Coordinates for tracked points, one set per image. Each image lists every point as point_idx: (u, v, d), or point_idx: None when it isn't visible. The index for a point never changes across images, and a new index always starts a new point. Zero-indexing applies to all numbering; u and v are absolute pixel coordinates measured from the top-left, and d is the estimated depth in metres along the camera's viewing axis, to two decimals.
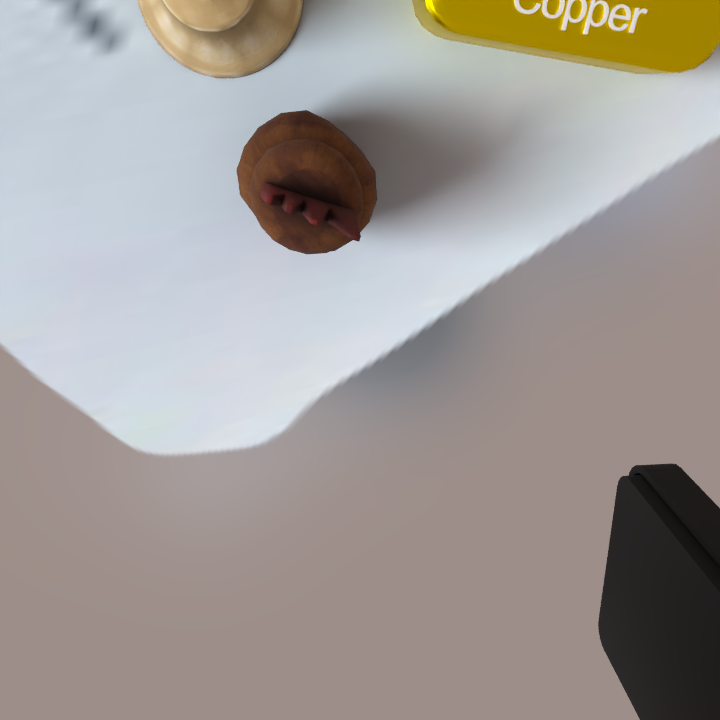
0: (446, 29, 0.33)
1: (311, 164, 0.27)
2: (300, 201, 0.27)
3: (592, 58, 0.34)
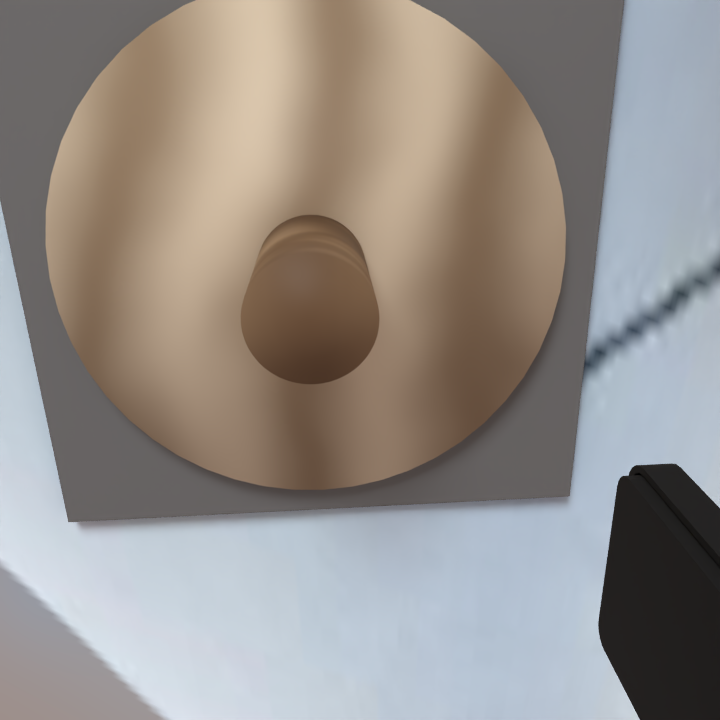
0: None
1: None
2: None
3: None
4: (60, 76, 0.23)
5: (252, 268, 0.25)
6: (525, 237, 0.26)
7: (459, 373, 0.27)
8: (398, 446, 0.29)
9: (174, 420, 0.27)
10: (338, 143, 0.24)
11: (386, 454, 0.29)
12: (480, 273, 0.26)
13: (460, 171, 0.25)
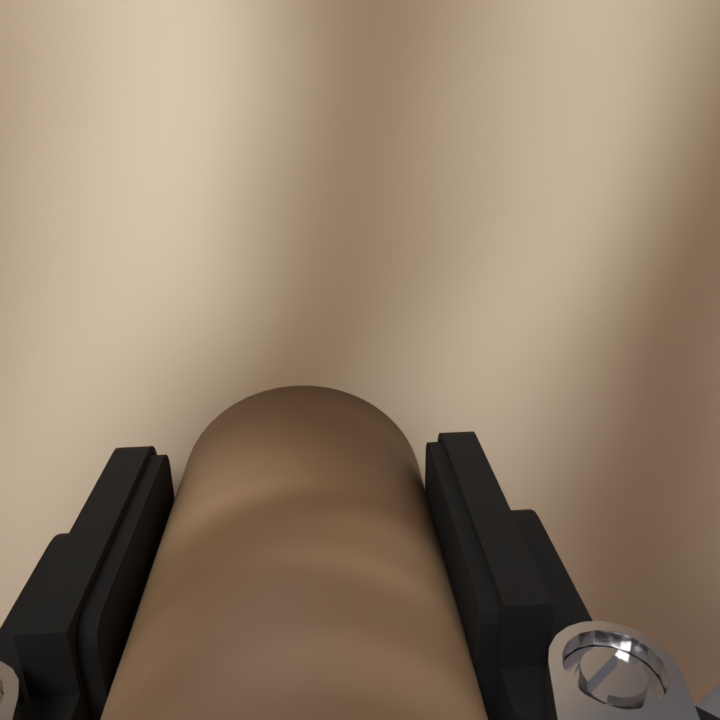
0: None
1: None
2: None
3: None
4: None
5: None
6: None
7: None
8: None
9: None
10: (364, 231, 0.10)
11: None
12: (664, 493, 0.12)
13: (642, 289, 0.11)
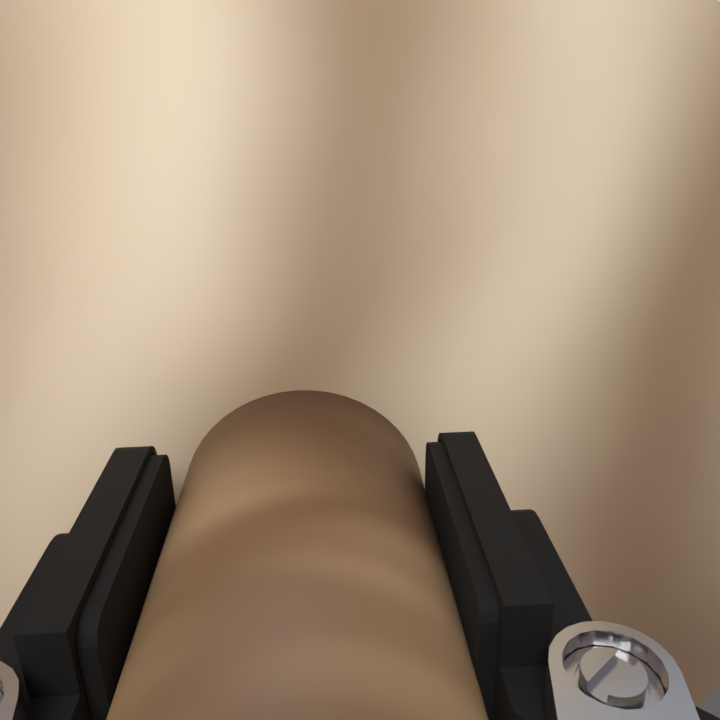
0: None
1: None
2: None
3: None
4: None
5: (175, 499, 0.12)
6: None
7: None
8: None
9: None
10: (366, 236, 0.10)
11: None
12: (664, 497, 0.12)
13: (643, 294, 0.11)
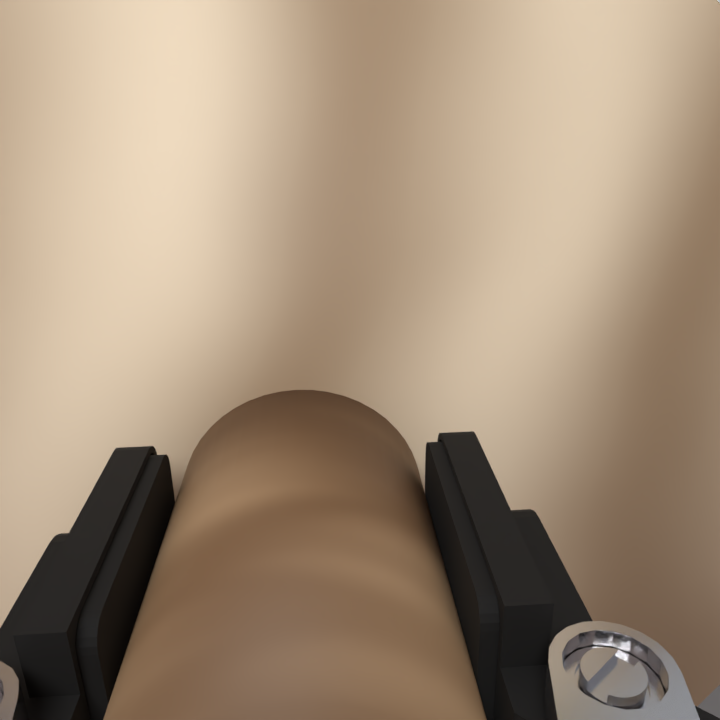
0: None
1: None
2: None
3: None
4: None
5: None
6: None
7: None
8: None
9: None
10: (364, 235, 0.10)
11: None
12: (663, 497, 0.12)
13: (641, 294, 0.11)
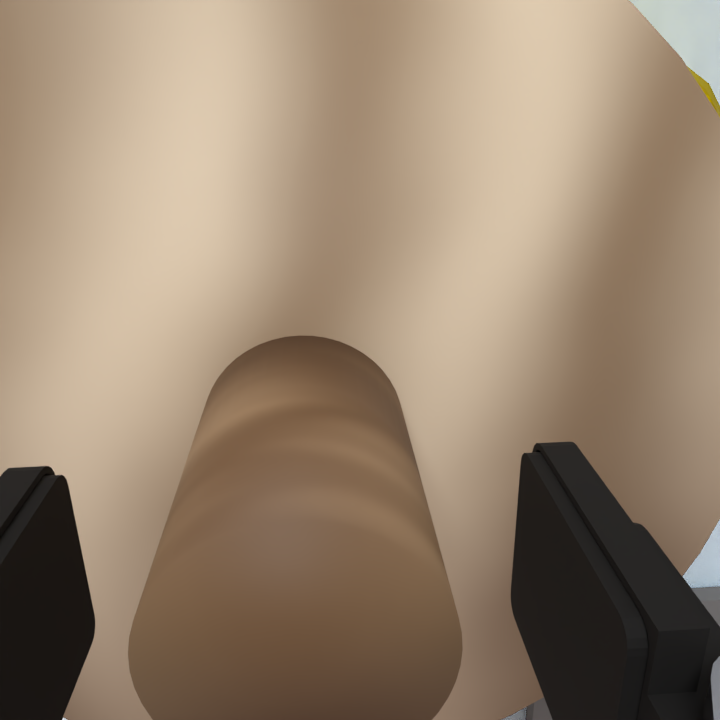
0: None
1: None
2: None
3: None
4: None
5: (194, 429, 0.14)
6: (695, 370, 0.14)
7: None
8: (451, 700, 0.17)
9: None
10: (355, 205, 0.12)
11: None
12: (609, 432, 0.14)
13: (586, 256, 0.13)
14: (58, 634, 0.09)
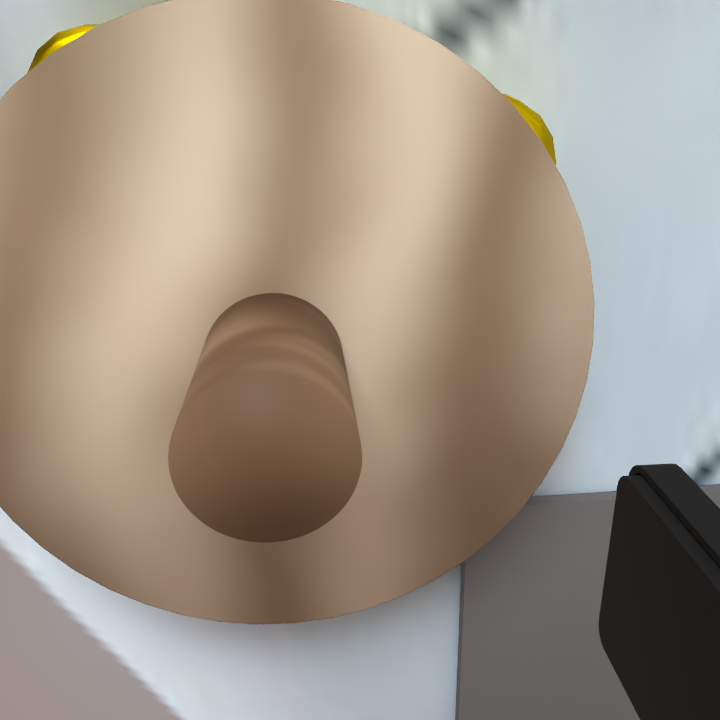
0: None
1: None
2: None
3: None
4: (529, 590, 0.29)
5: (197, 360, 0.20)
6: (544, 316, 0.20)
7: (462, 481, 0.22)
8: (387, 569, 0.23)
9: (103, 547, 0.22)
10: (305, 203, 0.18)
11: (372, 578, 0.23)
12: (487, 360, 0.21)
13: (462, 236, 0.19)
14: None
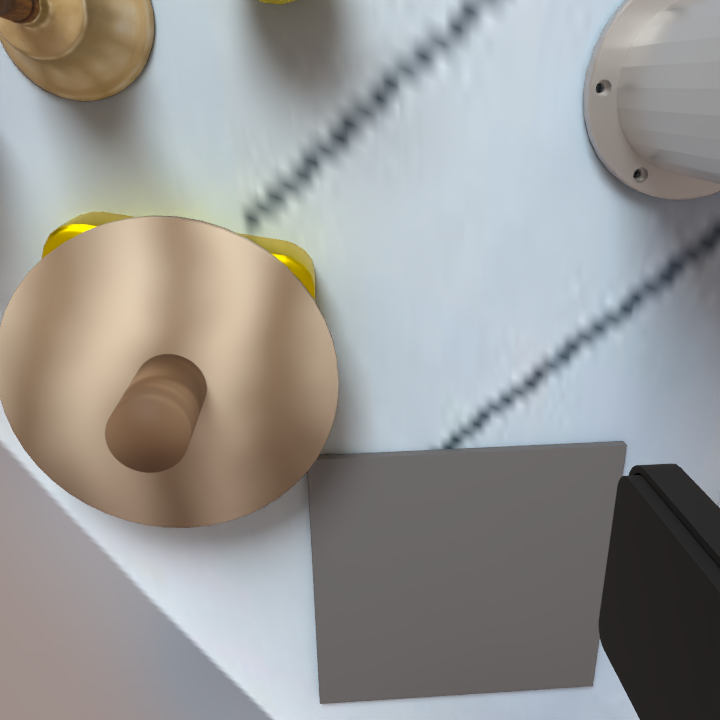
0: (44, 245, 0.37)
1: None
2: None
3: None
4: (350, 511, 0.48)
5: None
6: (310, 368, 0.39)
7: (275, 452, 0.41)
8: (237, 499, 0.42)
9: (83, 481, 0.41)
10: (183, 312, 0.38)
11: (229, 504, 0.42)
12: (283, 390, 0.40)
13: (264, 328, 0.38)
14: None
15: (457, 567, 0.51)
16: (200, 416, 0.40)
